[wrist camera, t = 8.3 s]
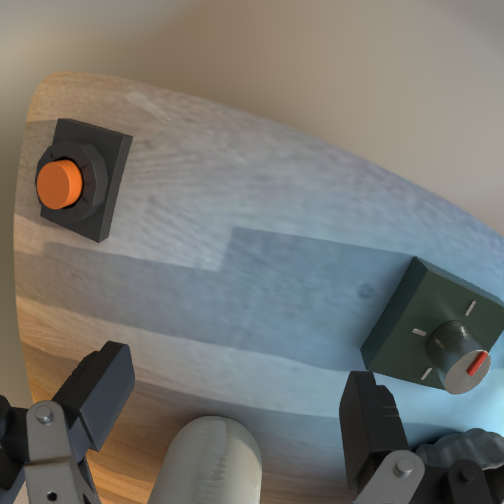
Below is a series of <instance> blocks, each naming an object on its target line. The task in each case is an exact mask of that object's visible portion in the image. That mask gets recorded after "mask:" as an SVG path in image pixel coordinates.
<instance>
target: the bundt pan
mask: <svg viewBox="0 0 504 504" xmlns="http://www.w3.org/2000/svg"><path fill="white" fill-rule="evenodd" d="M415 454H416V455H418V456H419V457H420V458H421V459H422V461H423V463H424V464H426V465H430V466H437V467H445V468H449V467H450V466H451V465H452V464H453V463H454V462H456V461H458V460H461V459H469V460H472V461H474V462H476V463H477V464H479V466H480V467H481V468H482V470H483V472H484V475H485V478H486V482H487V485H488V488H489V492H490V495H491V498H492V502H493V504H502V503H503V502H504V437H502V436H501V435H500V434H498V433H495V432H486V431H485V430H483V429H480V428H473V429H470V430H467V431H466V432H464V433H452V434H448V435H446V436H444V437H442V438H440V439H439V440H438V441H437V442H436V443H435V444H434V445H432V444H424V443H423V444H421V445H420V446H419V447H418V449H417V450H416V451H415Z"/></svg>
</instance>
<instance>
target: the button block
mask: <svg viewBox="0 0 504 504" xmlns="http://www.w3.org/2000/svg"><path fill="white" fill-rule="evenodd" d="M132 139H133V137H132V136H129V135H125V134H122V133H119V132H115V131H112V130H109V129H105V128H102V127H98V126H95V125H91V124H88V123H84V122H80V121H77V120H73V119H58V122H57V126H56V130H55V135H54V139H53V143H52V146H49V147H48V148H47V150H46V151H45V153H44V154H43V156H42V157H41V159H40V160H39V162H38V166H37V172H36V178H35V185H36V190H37V179H38V175H39V172H40V170H41V169H42V168H43V167H44V166H45V165H46V164H47V163H50V162H55V161H60V160H69V161H72V162H73V163H74V164H76V165H77V167H78V168H79V170H80V172H81V175H82V180H83V187H82V192H81V194H80V196H79V198H78V199H77V200H76V201H75V202H74V203H72V204H70V205H67V206H65V207H62V208H59V209H51V208H48V207H47V206H46V205H44V203H43V202H42V201H41V199H40V197H39V195H38V191H37V195H38V199H39V203H40V204H41V206H42V207H41V215H40V216H41V217H43V218H46V219H48V220H50V221H52V222H54V223H56V224H58V225H61V226H63V227H65V228H67V229H69V230H71V231H74V232H76V233H78V234H80V235H82V236H85V237H87V238H89V239H91V240H94V241H96V242H98V243H99V242H101V241H103V240H104V239H106V238H108V236H109V231H110V226H111V221H112V216H113V212H114V207H115V203H116V199H117V194H118V190H119V186H120V182H121V178H122V174H123V171H124V167H125V163H126V159H127V156H128V152H129V149H130V145H131V142H132Z"/></svg>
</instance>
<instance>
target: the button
mask: <svg viewBox="0 0 504 504" xmlns="http://www.w3.org/2000/svg"><path fill="white" fill-rule="evenodd" d="M82 187H83V180H82V175H81V172H80V170H79V168H78V167H77V165H76V164H74V163H73V162H72V161H69V160H60V161H55V162H50V163H47V164H46V165H45V166H44V167H43V168H42V169H41V170H40V172H39V175H38V179H37V191H38V195H39V197H40V199H41V201H42V202H43V203H44V205H46V206H47V207H48V208H51V209H59V208H62V207H65V206H67V205H70V204H72V203H74V202H75V201H76V200H77V199H78V198H79V196H80V194H81V192H82Z"/></svg>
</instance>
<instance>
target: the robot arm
mask: <svg viewBox="0 0 504 504" xmlns="http://www.w3.org/2000/svg"><path fill="white" fill-rule="evenodd" d="M134 382H135V374H134V369H133V364H132V359H131V354H130V349H129V346H128V345H127V344H123V343H118V342H113V341H108V342H106V343H105V345H104V346H103V347H102V349H101V350H100V351H99V352H98V351H94V352H92V353H91V354H89V355H87V356H86V357H84V358H83V360H82V361H81V362H80V364H79V365H78V366H77V368H76V369H75V370H74V371H73V372H72V375H70V376H69V378H68V379H67V380H66V381H65V383H64V384H63V385H62V387H61V388H60V389H59V391H58V392H57V393H56V394H55V396H54V397H53V398H52V400H51V401H48V400H45V401H40V402H37V403H35V404H34V405H32V406H31V407H30V409H25V408H17V407H11V406H10V404H9V402H8V400H7V399H6V398H5V397H4V396H2V395H0V447H1V448H0V504H13V503H14V501H15V499H16V497H17V495H18V493H19V491H20V489H21V487H22V485H23V483H24V481H26V487H27V493H28V499H29V504H102V503H101V501H100V499H99V496H98V494H97V491H96V488H95V485H94V481H93V478H92V475H91V472H90V468H89V465H88V461H87V458H86V456H85V454H86V452H87V450H88V448H89V449H92V450H95V451H98V452H99V451H100V449H101V447H102V446H103V444H104V442H105V440H106V438H107V436H108V434H109V432H110V430H111V429H112V427H113V425H114V423H115V421H116V419H117V417H118V416H119V414H120V412H121V410H122V408H123V406H124V404H125V403H126V401H127V399H128V397H129V395H130V393H131V392H132V390H133V387H134ZM339 418H340V426H341V433H342V441H343V449H344V458H345V467H346V476H347V486H348V489H356V488H358V493H359V495H358V497H357V498H356V499H355V501H354V502H353V503H352V504H493V502H492V498H491V495H490V492H489V488H488V485H487V482H486V478H485V475H484V472H483V470H482V468H481V467H480V466H479V464H477V463H476V462H474V461H472V460H469V459H461V460H458V461H456V462H454V463H453V464H452V465H451V466H450V467H449V468H445V467H437V466H430V465H426V464H424V463H423V461H422V459H421V458H420V457H419V456H418V455H416V454H415V453H413V452H411V451H410V449H409V446H408V442H407V439H406V435H405V432H404V429H403V426H402V422H401V419H400V417H399V413H398V410H397V408H396V403H395V400H394V397H393V395H392V394H391V392H390V391H389V390H388V389H387V388H386V387H385V386H384V385H376V382H375V378H374V375H373V373H372V372H371V371H351V372H350V374H349V377H348V380H347V383H346V386H345V389H344V392H343V395H342V398H341V401H340V407H339Z"/></svg>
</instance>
